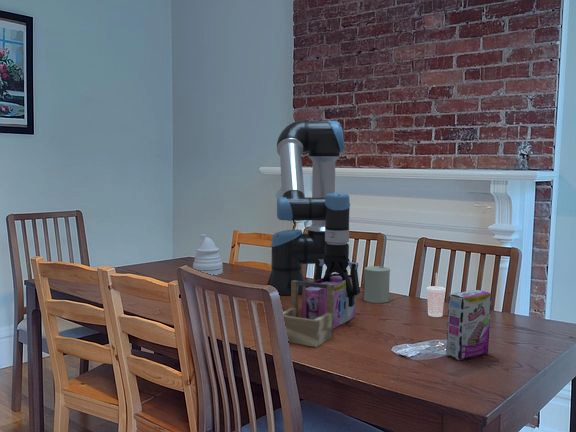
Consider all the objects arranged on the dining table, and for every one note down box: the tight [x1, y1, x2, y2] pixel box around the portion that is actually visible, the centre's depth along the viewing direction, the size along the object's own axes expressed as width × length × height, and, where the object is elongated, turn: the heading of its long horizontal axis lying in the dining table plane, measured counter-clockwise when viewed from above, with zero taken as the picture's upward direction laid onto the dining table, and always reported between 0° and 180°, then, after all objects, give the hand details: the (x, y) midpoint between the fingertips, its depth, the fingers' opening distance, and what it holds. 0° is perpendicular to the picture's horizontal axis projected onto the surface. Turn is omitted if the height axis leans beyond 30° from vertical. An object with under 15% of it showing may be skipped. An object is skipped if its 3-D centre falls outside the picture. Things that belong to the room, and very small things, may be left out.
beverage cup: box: [426, 272, 446, 318], centre depth 192 cm, size 6×6×14 cm
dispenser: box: [282, 280, 334, 348], centre depth 166 cm, size 11×13×15 cm
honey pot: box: [192, 233, 224, 275], centre depth 255 cm, size 13×13×18 cm
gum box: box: [301, 272, 356, 330], centre depth 181 cm, size 24×8×14 cm, turn 150°
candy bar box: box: [445, 289, 492, 361], centre depth 153 cm, size 11×5×16 cm, turn 123°
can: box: [363, 265, 391, 304], centre depth 212 cm, size 9×9×12 cm
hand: (335, 314), depth 186 cm, fingers closed on gum box, 8 cm apart
